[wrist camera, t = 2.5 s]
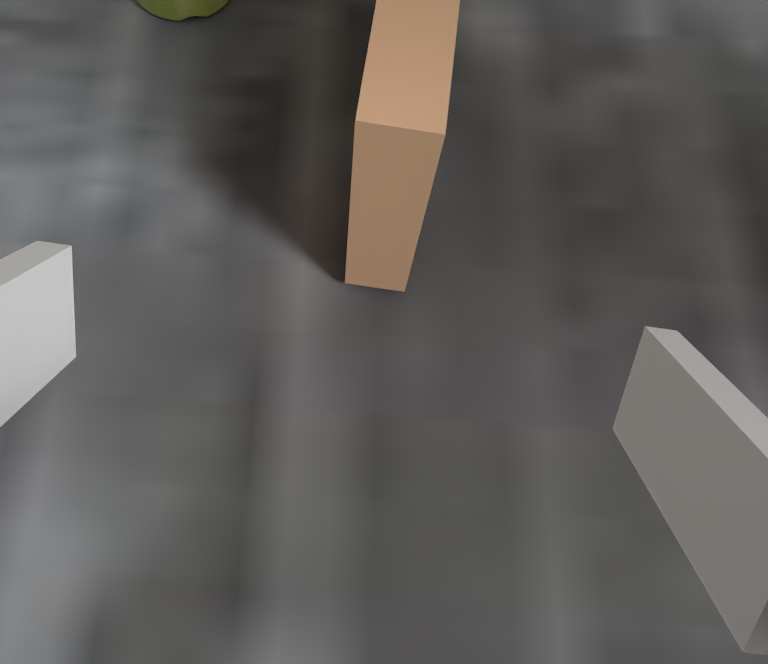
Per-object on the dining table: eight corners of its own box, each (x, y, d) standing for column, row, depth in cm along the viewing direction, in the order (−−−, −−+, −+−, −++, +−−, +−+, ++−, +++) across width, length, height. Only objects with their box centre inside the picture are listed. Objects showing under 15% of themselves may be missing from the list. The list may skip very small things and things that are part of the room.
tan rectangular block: (419, 175, 36) (462, -17, 24) (404, 291, 33) (445, 134, 22) (363, 167, 35) (381, -31, 24) (344, 283, 33) (355, 120, 22)
